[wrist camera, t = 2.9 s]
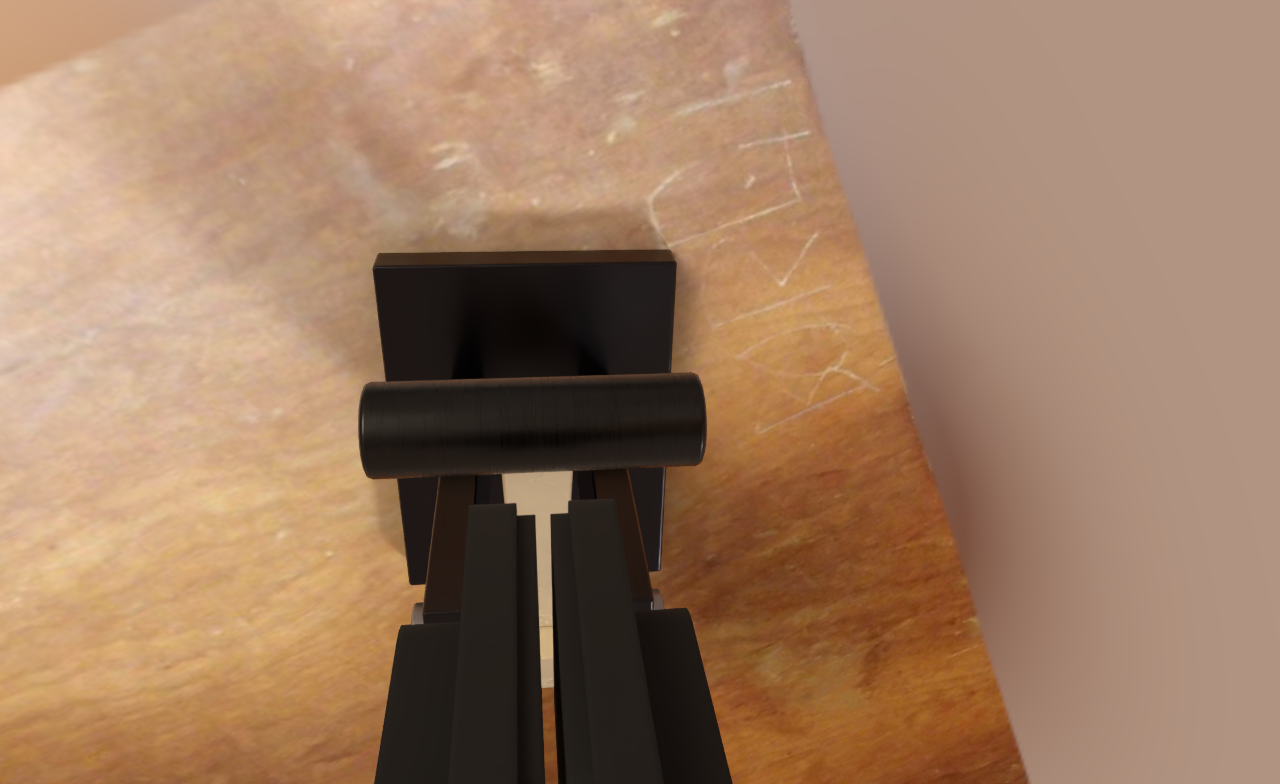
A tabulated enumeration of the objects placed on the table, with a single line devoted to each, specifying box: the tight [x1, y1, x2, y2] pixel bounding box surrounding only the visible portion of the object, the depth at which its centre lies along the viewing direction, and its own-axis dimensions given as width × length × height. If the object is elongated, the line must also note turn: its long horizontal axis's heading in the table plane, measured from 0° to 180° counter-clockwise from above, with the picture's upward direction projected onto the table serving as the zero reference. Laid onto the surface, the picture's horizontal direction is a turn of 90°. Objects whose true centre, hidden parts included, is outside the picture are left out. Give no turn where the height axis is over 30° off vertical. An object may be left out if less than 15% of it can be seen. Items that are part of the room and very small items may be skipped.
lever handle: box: [358, 373, 707, 688], centre depth 18 cm, size 12×5×2 cm
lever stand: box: [373, 250, 677, 625], centre depth 26 cm, size 12×9×12 cm
